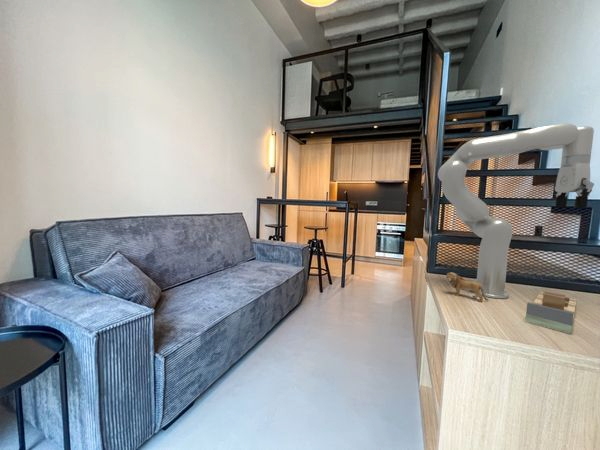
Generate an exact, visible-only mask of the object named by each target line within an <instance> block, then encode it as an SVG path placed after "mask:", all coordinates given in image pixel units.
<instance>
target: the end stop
mask: <svg viewBox="0 0 600 450" xmlns="http://www.w3.org/2000/svg"><path fill="white" fill-rule="evenodd" d="M526 304H527V305H526V313H525V315H526V314H528V315H532V316H536V317H540V318H543V319H547V320H551V321H555V322H559V323H563V324H567V325H571V326H572V323H573V324H574V320H573V315H574V316H575V314H574V313H573V312H568V311H564V310H560V309H555V308H551V307H547V306H542V305H538V304H534V303H533V302H529V301H528V302H527V303H526ZM572 327H573V326H572Z"/></svg>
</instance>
